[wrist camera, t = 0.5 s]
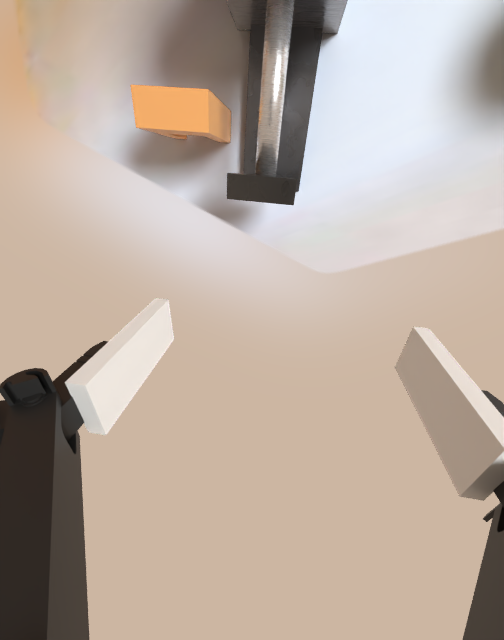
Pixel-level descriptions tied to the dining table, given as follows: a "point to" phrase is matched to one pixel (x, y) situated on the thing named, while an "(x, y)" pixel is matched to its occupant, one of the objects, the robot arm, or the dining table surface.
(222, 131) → the block
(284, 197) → the shaft
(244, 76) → the dining table surface
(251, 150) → the block
